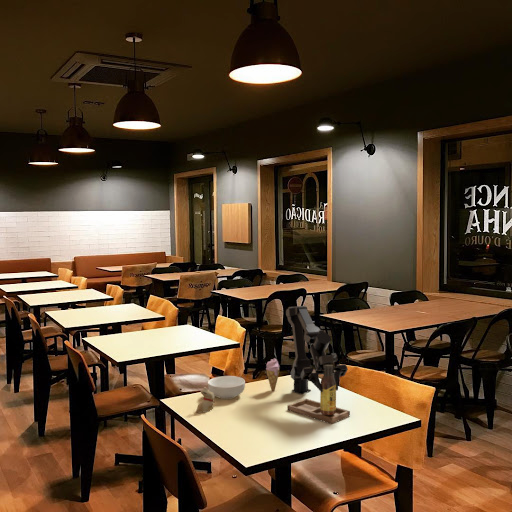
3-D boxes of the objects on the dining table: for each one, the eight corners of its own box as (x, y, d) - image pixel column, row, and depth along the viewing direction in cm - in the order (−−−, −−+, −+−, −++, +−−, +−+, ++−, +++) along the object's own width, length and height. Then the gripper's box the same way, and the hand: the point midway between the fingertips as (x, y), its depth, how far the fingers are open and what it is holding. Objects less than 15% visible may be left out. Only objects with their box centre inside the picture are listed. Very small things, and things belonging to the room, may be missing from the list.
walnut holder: (306, 403, 244) (306, 398, 243) (349, 415, 227) (349, 411, 227) (287, 410, 235) (287, 405, 235) (331, 423, 219) (331, 418, 219)
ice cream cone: (283, 390, 262) (282, 358, 261) (274, 393, 257) (273, 361, 256) (272, 387, 266) (272, 356, 265) (263, 390, 262) (263, 359, 261)
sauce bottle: (332, 417, 223) (331, 367, 221) (317, 414, 226) (317, 365, 225) (338, 412, 228) (338, 363, 227) (324, 409, 232) (324, 361, 230)
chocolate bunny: (215, 411, 235) (214, 388, 235) (196, 412, 234) (195, 389, 233) (214, 407, 241) (213, 384, 240) (195, 408, 239) (195, 385, 239)
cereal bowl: (201, 395, 257) (200, 380, 256) (230, 388, 267) (230, 373, 266) (222, 405, 243) (221, 389, 243) (252, 397, 253) (252, 381, 253)
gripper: (302, 348, 227) (312, 383, 217) (345, 344, 231) (357, 378, 222) (296, 362, 235) (305, 396, 225) (338, 358, 240) (349, 392, 230)
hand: (329, 390), depth 225 cm, fingers closed on sauce bottle, 6 cm apart
